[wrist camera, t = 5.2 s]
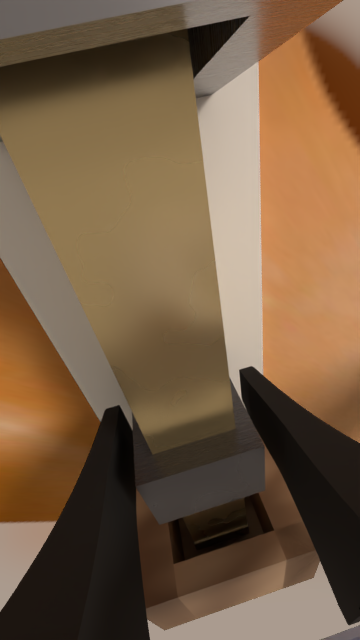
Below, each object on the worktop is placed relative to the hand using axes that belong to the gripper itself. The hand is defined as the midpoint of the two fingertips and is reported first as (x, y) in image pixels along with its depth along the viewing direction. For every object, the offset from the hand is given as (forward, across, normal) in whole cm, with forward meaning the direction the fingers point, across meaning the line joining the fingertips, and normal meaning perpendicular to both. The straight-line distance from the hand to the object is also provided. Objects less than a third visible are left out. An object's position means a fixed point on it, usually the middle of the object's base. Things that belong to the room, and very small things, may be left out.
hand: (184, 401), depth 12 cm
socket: (+1, 0, +8) cm, 8 cm away
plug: (+1, 0, -2) cm, 2 cm away
